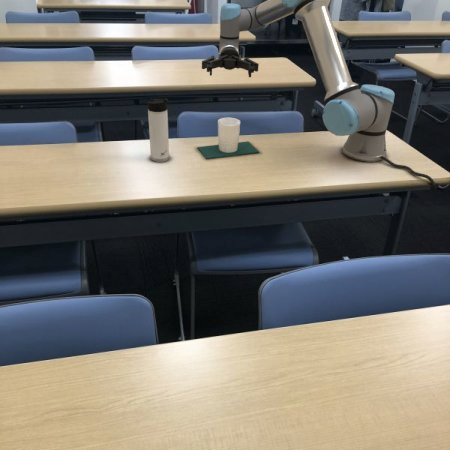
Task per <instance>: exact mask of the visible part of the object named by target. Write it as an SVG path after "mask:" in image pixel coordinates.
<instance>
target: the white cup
mask: <svg viewBox="0 0 450 450" xmlns="http://www.w3.org/2000/svg"><path fill="white" fill-rule="evenodd" d="M240 132H241V120H240V119H238V118H235V117H221V118H219V119H218V120H217V140H218V141H217V142H218V145H219V150H220V151H222V152H226V153H232V152H235V151H237V149H238V143H239V142H240V140H239V139H240Z"/></svg>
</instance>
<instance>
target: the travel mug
mask: <svg viewBox="0 0 450 450" xmlns="http://www.w3.org/2000/svg"><path fill="white" fill-rule="evenodd" d="M168 102H169V99H168V98H166V97H154V98H150V99H149V100H148V101H147V115H148V116H147V117H148V131H149V134H148V135H149V148H150V159H151V160H152V161H154V162H157V163H164V162H167V161H169V160H170V141H169V118H168V117H169V116H168V115H169V114H168Z"/></svg>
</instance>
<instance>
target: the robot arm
mask: <svg viewBox="0 0 450 450" xmlns="http://www.w3.org/2000/svg"><path fill="white" fill-rule="evenodd" d="M332 1H333V0H265V1H264V2H261V3H259V4H257V5H255V6H252V7H248V8H241V5H240V4H238V3H224V4H222V5H220V6H221V8H220V15H219V24H220V25H219V44H218V54H219V57H218V58H217V57H216V56H215V55H211V56H210V57H208V58H206V59H204V60H201V69H202V70H205V69H206V72H207V73H209V76H210V77H211V76H213V70H214V69H217V68H220V69H222V68H223V69H225V70H227V71H232V70H234V69H242V70H245V71H247V74H248V78H252V74H253V73H255V72H256V73H257V72H259V64H260V63H258V62H256V61H254V60H252V59H250V58H249V57H248V56H245V57H244V58H243V59H242V58H241V57H240V51H239V47H240V32H247V31H254V30H255V31H256V30H258V31H259V30H263V29H266V28H267V27H268V26H269V25H270V24H272V23H274V22H277V21H279V20H281V19H283V18H286V17H288V16H290V15H292V14H294V18H295V19H296V20H298V21H301V23H302V26H303V29H304V32H305V34H306V38H307V40H308V43H309V46H310V49H311V51H312V54H313V58H314V61H315V64H316V67H317V69H318V73H319V75H320V79H321V81H322V84H323V87H324V90H325V97H324V100H323V101H324V104H325V106H324V107H323V109H322V110H323V113H322V121H323V124H324V126H325V128H326V129H327V131H328V132H329V133H331V134H332V135H334V136H336V137H337V136H338V137H344V136H348V137H347V138H346V141H345V142H344V144H343V147H342V153H343V155H345V156H346V157H348V158H350V159H352V160H355V161H359V162H365V163H368V162H369V163H372V162H373V163H375V162H380V161H382V160H383V161H384V162H386V163H387V164H388V165H390V166H392V167H393V168H398V169H404V170H407V171H408V172H409V173H410V174H412V175H414V176H417V177H421V178H425V179H427V180H428V181H429V182H430V184H431V186H433V187H436V182H435V180H434V179H433V178H432V177H431V176H430V175H428V174H425V173H422V172H417V171H414V170H413V169H412V168H411V167H410V166H408V165H404V164H397V163H395V162H393V161H392V160H390V159H388V158H387V157H386V156H387V142H386V141H387V140H386V134H387V129H388V125H389V122H390V118H391V114H392V109H393V107H394V106H393V105H394V101H395V95H396V94H395V92H394V91H393V90H392V89H390V88H388V87H385V86H381V85H376V84H362V85H361V86H360V85H359V83H356V82H354V81H353V80H352V77H351V74H350V71H349V68H348V65H347V62H346V59H345V56H344V53H343V49H342V48H341V45H340V41H339V39H338V35H337V32H336V30H335V29H336V28H335V26H334V23H333V20H332V18H331V14H330V11H329V8H328V7H329V4H330V3H331V2H332Z"/></svg>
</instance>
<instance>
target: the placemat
mask: <svg viewBox="0 0 450 450" xmlns="http://www.w3.org/2000/svg"><path fill="white" fill-rule="evenodd" d="M197 150H198V151H199V152H200V154H201V155H202V156H203V157H204V158H205V160H211V159H212V160H213V159H222V158H229V157H230V158H231V157H239V156H247V155H255V154H259V153H260V151H259V150H258V149H257V148H256V147H255V146H254V145H253V144H252V143H251V142H250V141H238V149H237V151H235V152H232V153H226V152H222V151H220V150H219V144H214V145H205V146H197Z"/></svg>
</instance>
